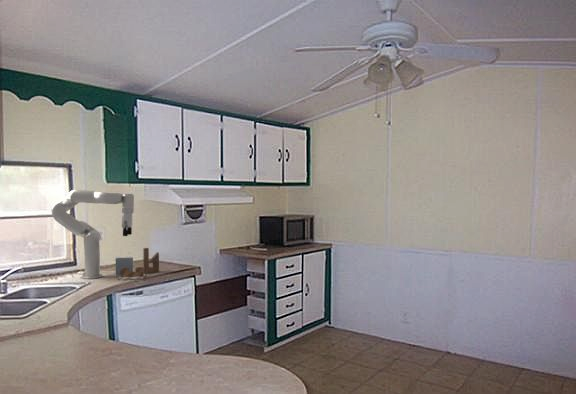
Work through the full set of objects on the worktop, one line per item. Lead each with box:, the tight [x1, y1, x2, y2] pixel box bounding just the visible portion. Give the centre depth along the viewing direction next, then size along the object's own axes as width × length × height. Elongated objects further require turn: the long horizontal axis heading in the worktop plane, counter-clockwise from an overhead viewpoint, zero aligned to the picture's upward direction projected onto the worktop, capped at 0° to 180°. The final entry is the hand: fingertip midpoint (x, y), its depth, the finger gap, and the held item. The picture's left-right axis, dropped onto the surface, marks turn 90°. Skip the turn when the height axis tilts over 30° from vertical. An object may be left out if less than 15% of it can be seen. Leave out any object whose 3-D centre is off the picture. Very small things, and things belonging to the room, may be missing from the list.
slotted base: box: [117, 266, 147, 281], centre depth 283 cm, size 16×11×7 cm
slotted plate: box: [115, 256, 134, 276], centre depth 293 cm, size 3×11×12 cm, turn 97°
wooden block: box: [142, 247, 160, 274], centre depth 301 cm, size 4×11×18 cm, turn 126°
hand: (127, 235), depth 292 cm, fingers open, 9 cm apart
